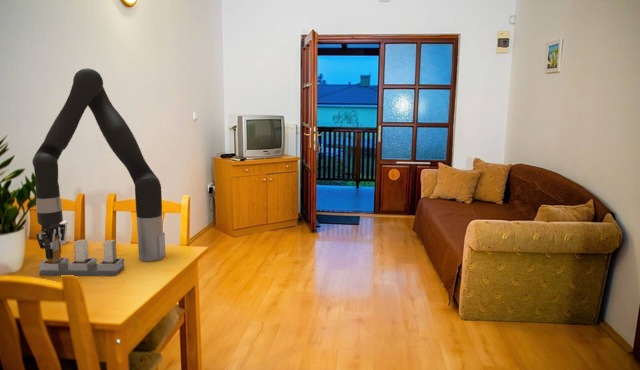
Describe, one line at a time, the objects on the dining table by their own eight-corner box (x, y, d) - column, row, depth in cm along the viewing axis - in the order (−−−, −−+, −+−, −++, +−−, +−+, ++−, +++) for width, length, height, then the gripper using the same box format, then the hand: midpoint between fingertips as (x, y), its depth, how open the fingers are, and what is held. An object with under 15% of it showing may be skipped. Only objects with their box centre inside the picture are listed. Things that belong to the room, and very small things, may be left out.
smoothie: (72, 242, 188) (70, 210, 185) (62, 246, 182) (60, 214, 179) (59, 241, 188) (56, 210, 186) (48, 245, 182) (45, 213, 180)
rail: (125, 267, 160) (123, 237, 158) (115, 276, 152) (113, 244, 150) (52, 267, 159) (49, 237, 157) (38, 275, 151) (35, 243, 149)
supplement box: (46, 265, 154) (43, 238, 152) (55, 262, 157) (53, 236, 155) (53, 267, 152) (50, 239, 151) (62, 264, 156) (59, 237, 154)
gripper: (48, 214, 144) (53, 263, 147) (71, 205, 158) (75, 249, 161) (25, 214, 144) (30, 263, 147) (50, 204, 158) (54, 249, 161)
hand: (53, 256), depth 154 cm, fingers closed on supplement box, 4 cm apart
